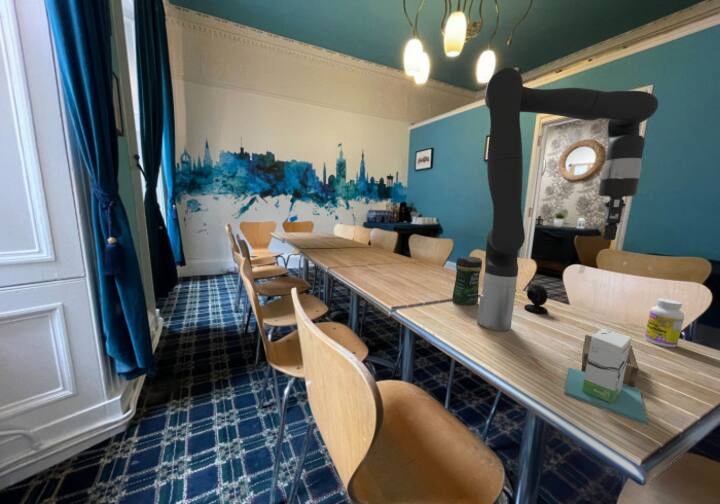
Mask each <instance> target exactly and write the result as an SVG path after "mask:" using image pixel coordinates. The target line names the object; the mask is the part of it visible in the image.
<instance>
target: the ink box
mask: <svg viewBox="0 0 720 504" xmlns="http://www.w3.org/2000/svg"><path fill="white" fill-rule="evenodd" d="M591 336H592V338H591V343H590V348H589V354H588V360H587V366H586V371H585V377H584V383H583V389H582V390H583V391H584V392H586V393H588V394H591V395H593V396H595V397H598V398H600V399H602V400H605V401H607V402H609V403H613V401H614V400H615V398H616V397H617V395H618V394H619V392H620V391H621V389H622V384H623V379H624V374H625V369H626V364H627V359H628V354H629V349H630V346H631V342H632V338H633V337H632V336H629V335H625V334H622V333H619V332H616V331H613V330H610V329H607V328H601V329H600V330H599V331H597V332H595V333H594V334H593V335H591Z"/></svg>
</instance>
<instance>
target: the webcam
mask: <svg viewBox="0 0 720 504" xmlns="http://www.w3.org/2000/svg"><path fill="white" fill-rule="evenodd" d="M526 297H527V299H528V300H530V302H531V304H525V305H524V307H523V308H524V309H525V310H526V311H527V312H528V313H533V314H538V315H544V314H545V315H546V314H547V313H548V312H549V311H548V308H547V307H545V306H543V305H545V303H547V301H548V292H547V289H546V288H545V287H544V286H542V285H541V284H533V285H532V286H531V287H530V288H529V289H528V290H527V292H526Z"/></svg>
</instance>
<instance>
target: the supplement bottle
mask: <svg viewBox="0 0 720 504" xmlns="http://www.w3.org/2000/svg"><path fill="white" fill-rule="evenodd" d="M656 302H657V305H656V306H653V307H651V308H650V311H649V315H648V320H647V325H646V328H645V333H644V339H645V340H646V341H647V342H650V343H652V344H654V345H657V346H660V347H664V348H665V347H666V348H676V347H677V346H678V344H679V339H680V336H681V331H682V327H683V324H684V321H685V313H684V312H682V311H680V309H681V308H682V305H683V304H682V302H681V301H677V300H674V299H668V298H661V297H660V298H657V301H656Z"/></svg>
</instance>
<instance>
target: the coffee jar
mask: <svg viewBox="0 0 720 504" xmlns="http://www.w3.org/2000/svg"><path fill="white" fill-rule="evenodd" d="M455 268H456V270H455V271H456V274H455V281H454V286H453V291H452V298H451V299H452V301H453V302H454V303H456V304H461V305H463V306H467V305H475V304H478V302H479V289H480V288H479V287H480V286H479V285H480V274H481V272H482V268H483V260H482V258H480V257H476V256H459V257H458V258H456V262H455Z"/></svg>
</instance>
